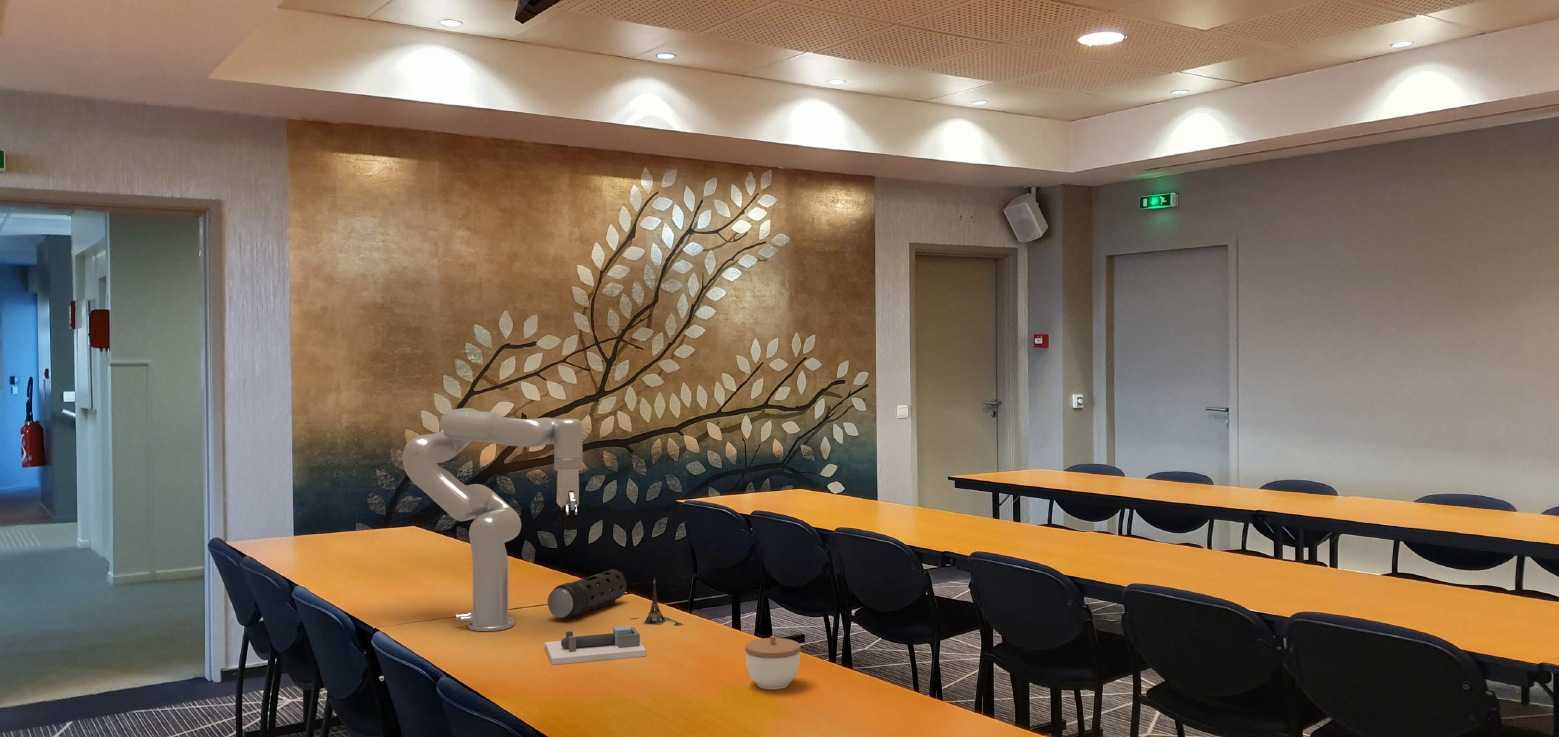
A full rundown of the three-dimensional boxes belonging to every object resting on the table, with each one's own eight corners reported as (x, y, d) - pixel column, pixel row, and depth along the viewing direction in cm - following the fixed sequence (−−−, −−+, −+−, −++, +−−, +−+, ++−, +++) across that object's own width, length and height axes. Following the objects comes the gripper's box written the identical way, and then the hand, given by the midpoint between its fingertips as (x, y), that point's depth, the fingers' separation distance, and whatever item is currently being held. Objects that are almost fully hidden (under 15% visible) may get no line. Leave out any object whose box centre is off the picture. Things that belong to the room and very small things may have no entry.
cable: (562, 650, 274) (561, 634, 274) (560, 646, 278) (559, 630, 278) (631, 644, 279) (631, 629, 279) (628, 640, 283) (628, 625, 283)
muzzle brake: (627, 603, 332) (627, 569, 332) (573, 624, 307) (572, 587, 307) (601, 600, 336) (601, 567, 336) (545, 621, 311) (544, 584, 311)
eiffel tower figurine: (685, 626, 306) (684, 578, 306) (652, 631, 300) (651, 583, 300) (660, 616, 318) (660, 570, 318) (628, 620, 313) (628, 574, 313)
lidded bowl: (781, 696, 242) (781, 646, 242) (734, 687, 248) (734, 638, 248) (810, 681, 252) (810, 633, 252) (764, 673, 259) (764, 626, 259)
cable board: (552, 664, 267) (552, 643, 267) (544, 647, 282) (544, 628, 282) (646, 655, 275) (645, 635, 274) (633, 640, 290) (633, 620, 290)
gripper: (550, 461, 307) (551, 523, 307) (558, 467, 290) (559, 532, 290) (577, 460, 309) (578, 521, 309) (587, 466, 293) (587, 530, 293)
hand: (568, 526), depth 300 cm, fingers open, 9 cm apart
